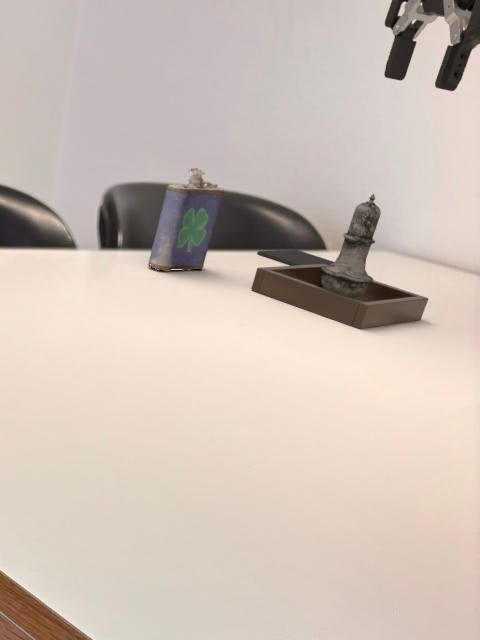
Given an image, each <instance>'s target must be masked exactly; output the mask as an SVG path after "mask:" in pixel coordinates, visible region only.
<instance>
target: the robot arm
mask: <svg viewBox="0 0 480 640" xmlns="http://www.w3.org/2000/svg"><path fill="white" fill-rule="evenodd" d="M403 3H405V4H404V12H403V13H402V15H399V13H400V10H401V8H402V4H403ZM438 17H440V18H444V21H445V22H446V24H448V27H449V39H450V41H449V42H450V44H451V45H450V44H448V45H447V46H446V50H445V52H444V55H443V57H442V62H441V64H440V67H439V70H438V73H437V75H436V78H435V81H434V87H435V88H436V89H439V90H444V91H449V92H455V91H456V90H457V88H458V85H460V82H462V79H463V76H464V73H465V71H466V67H467V66H468V65H467V64H468V63H469V59H470V56H471V53H472V51H473V50H474V49H476V48H477V47H478V46H479V45H480V0H391V3H390V5H389V8H388V10H387V14H386V17H385V19H384V27H386V28H390V30H391V31H392V35H393V36H394V38H393V42H392V45H391V47H390V48H391V49H390V51H389V55H388V57H387V61H386V64H385V69H384V73H383V75H384V77H385V78H386V79H390V80H395V81H403V80H405V78H406V76H407V73H408V70H409V67H410V63H411V60H412V59H413V55H414V51H415V48H416V45H417V42H418V41H416V39H417V38H418V37H419V36H420V35H421V33H422V32H423V30H425V28H426V26H428V24H431V23H433V22H435V21H436V20H437V19H438ZM414 20H415V21H414ZM413 21H414V22H413Z"/></svg>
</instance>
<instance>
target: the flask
mask: <svg viewBox="0 0 480 640" xmlns="http://www.w3.org/2000/svg"><path fill="white" fill-rule="evenodd" d="M189 172H192V174H191V176H190V177H189V178H188V184H181V183H171V184H168V185H167V186H166V190H165V194H164V199H163V203H162V207H161V211H160V215H159V220H158V223H157V228H156V232H155V236H154V239H153V243H152V247H151V252H150V256H149V259H148V263H147V264H148V266H150V267H152V268H151V269H154V268H155V270H156V269H160V270H159V271H164V270H170V271H171V269H204V264H205V261H206V258H207V253H208V249H209V246H210V244H211V241H212V237H213V235H214V229H215V226H216V222H217V219H218V215H219V212H220V209H221V204H222V202H223V198H224V195H225V191H224V189H223V188H221V187H219V186H218V183H213V182H211V181H207V180H206V181H205V180H204V179H203V175H206V172H205V171H204V172H203V170H202V169H199V168H198V167H194V168H193V167H191V168H190V169H188V173H189ZM150 264H151V265H150Z"/></svg>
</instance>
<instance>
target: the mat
mask: <svg viewBox="0 0 480 640" xmlns="http://www.w3.org/2000/svg"><path fill="white" fill-rule="evenodd" d="M256 254H257V255H258V256H262V257H265V258H268V259H270V260H274V261H277V262H280V263H283V264H286V265H287V266H296V265H313V264H325V265H331V264H332V263H334V262H335V261H333V260H329V259H327V258H324V257H320V256H317V255H315V254H311V253H309V252H305V251H302V250H299V249H277V250H276V249H275V250H258V251H257V253H256Z"/></svg>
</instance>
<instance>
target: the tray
mask: <svg viewBox="0 0 480 640" xmlns="http://www.w3.org/2000/svg"><path fill="white" fill-rule="evenodd" d="M322 266H328V265H325V264H313V265H296V266H291V265H281V266H263V267H261V266H260V267H257V268H256V271H255V275H254V277H253V281H252V284H251V288H250V290H251V289H252V290H254V291H253V292H255V291H257V292H256V293H258V292H260V293H259V294H261V293H262V294H261V295H263V294H265V295H264V296H266V295H267V297H269V298H271V299H275V300H277V301H279V302H283V303H286V304H288V305H292V306H294V307H297V308H299V309H303V310H305V311H309V312H310V313H314V314H317V315H320V316H322V317H325V318H329V319H330V320H334V321H337V322H340V323H342V324H345V325H347V326H350V327H353V328H357V329H360V330H362V329H367V328H375V327H381V326H382V327H383V326H387V325H394V324H395V325H396V324H402V323H408V322H416V321H420V320H422V317H423V315H424V313H425V309H426V308H427V307H426V306H427V304H428V302H429V297H426V296H423V295H420V294H417V293H414V292H411V291H408V290H405V289H402V288H399V287H396V286H393V285H391V284H390V285H389V284H387V283H383V282H380V281H377V280H374V279H373V281H372V282H370V283H369V285H368V287H367V289H366V290H365V292H364V293H363V294H362V295H360V296H359V297H357V298H351V297H348V296H345V295H342V294H339V293H336V292H333V291H330V290H327V289H324V288H323V286H322V280H321V276H322V273H323V271H322V270H321V267H322ZM252 290H251V291H252Z"/></svg>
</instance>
